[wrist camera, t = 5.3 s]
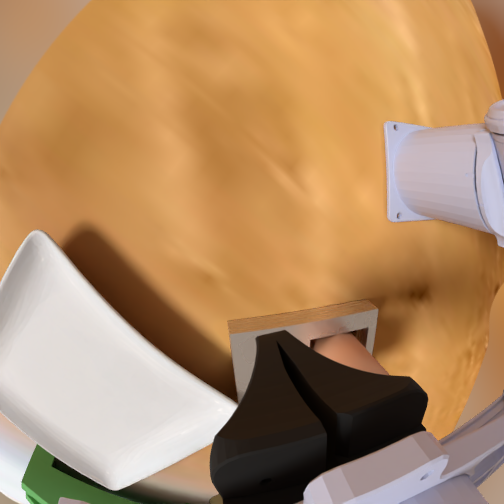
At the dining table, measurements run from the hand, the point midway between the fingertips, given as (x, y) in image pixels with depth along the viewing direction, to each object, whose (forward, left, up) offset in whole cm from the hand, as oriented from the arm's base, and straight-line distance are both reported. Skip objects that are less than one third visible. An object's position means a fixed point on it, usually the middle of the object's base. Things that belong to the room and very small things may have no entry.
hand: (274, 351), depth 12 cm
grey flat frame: (-4, +7, -9) cm, 12 cm away
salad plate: (+15, +8, -9) cm, 20 cm away
